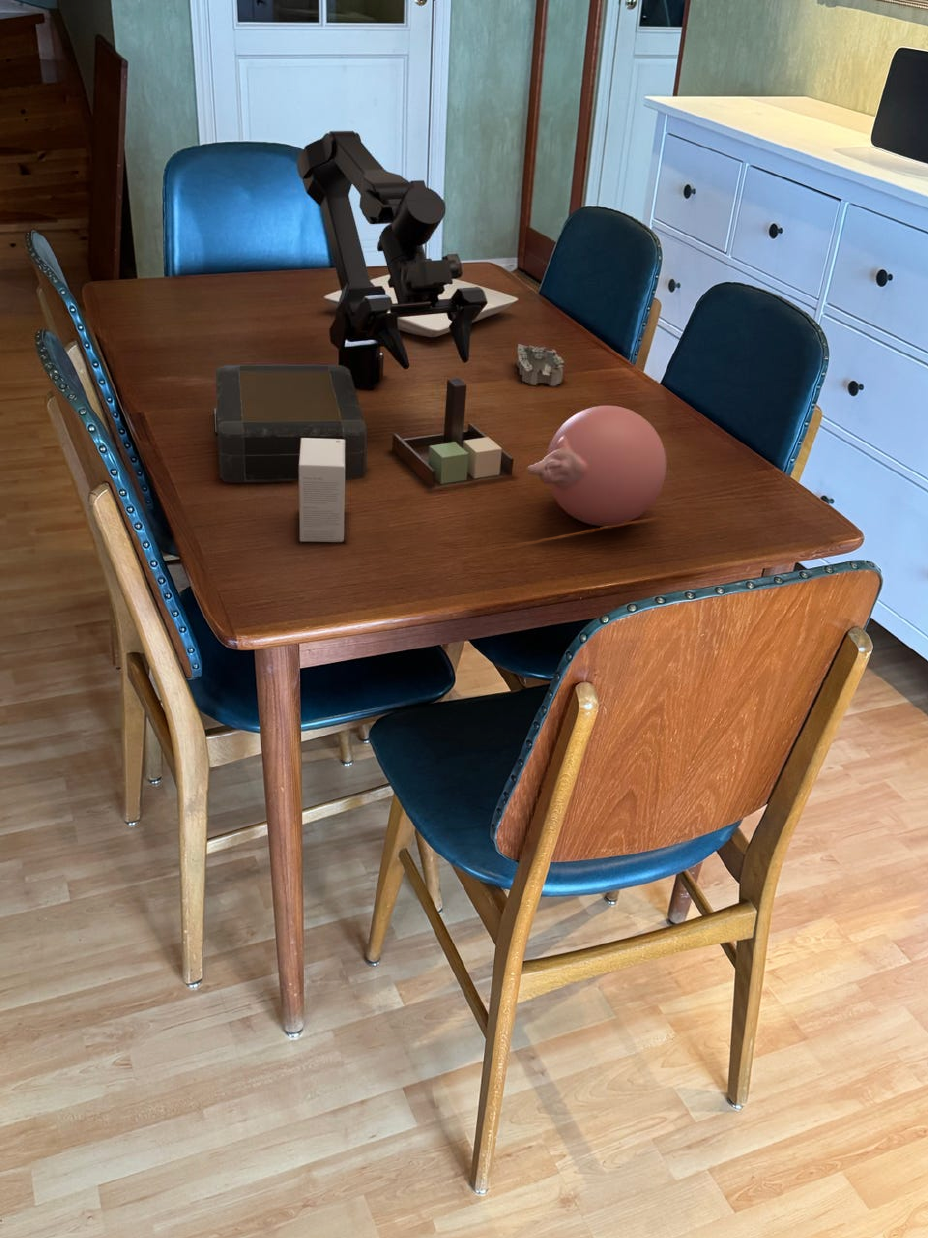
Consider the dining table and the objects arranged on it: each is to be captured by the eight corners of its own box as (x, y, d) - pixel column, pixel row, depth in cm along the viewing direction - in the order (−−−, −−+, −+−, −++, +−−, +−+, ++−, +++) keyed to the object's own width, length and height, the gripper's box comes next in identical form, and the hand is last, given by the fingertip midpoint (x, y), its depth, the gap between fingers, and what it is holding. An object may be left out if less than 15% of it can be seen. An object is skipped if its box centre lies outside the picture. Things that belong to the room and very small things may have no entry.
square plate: (409, 284, 229) (410, 265, 227) (519, 315, 217) (521, 296, 215) (321, 312, 210) (321, 292, 208) (435, 348, 198) (437, 327, 196)
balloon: (488, 509, 147) (498, 400, 139) (612, 485, 156) (628, 381, 147) (549, 563, 136) (564, 448, 128) (679, 535, 145) (700, 425, 136)
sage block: (427, 471, 154) (429, 445, 152) (453, 467, 156) (455, 441, 153) (440, 484, 151) (442, 457, 149) (466, 479, 153) (468, 453, 151)
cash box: (214, 412, 168) (211, 363, 163) (348, 410, 172) (348, 362, 167) (215, 486, 147) (212, 432, 143) (367, 482, 151) (368, 429, 147)
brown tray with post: (392, 453, 160) (395, 370, 153) (469, 441, 165) (475, 361, 158) (431, 491, 150) (436, 405, 143) (511, 478, 155) (520, 394, 149)
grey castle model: (563, 387, 186) (566, 364, 184) (518, 385, 186) (521, 361, 184) (557, 364, 195) (560, 342, 193) (515, 362, 195) (517, 339, 193)
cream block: (461, 466, 156) (463, 440, 154) (486, 462, 158) (488, 436, 156) (474, 478, 153) (476, 452, 151) (499, 474, 155) (502, 448, 153)
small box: (301, 512, 143) (300, 436, 137) (344, 513, 143) (345, 437, 138) (298, 542, 136) (297, 464, 130) (344, 543, 137) (345, 465, 131)
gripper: (362, 236, 146) (394, 344, 144) (486, 228, 154) (518, 331, 152) (340, 279, 156) (369, 381, 154) (457, 270, 164) (487, 367, 162)
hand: (437, 364), depth 155 cm, fingers open, 9 cm apart
